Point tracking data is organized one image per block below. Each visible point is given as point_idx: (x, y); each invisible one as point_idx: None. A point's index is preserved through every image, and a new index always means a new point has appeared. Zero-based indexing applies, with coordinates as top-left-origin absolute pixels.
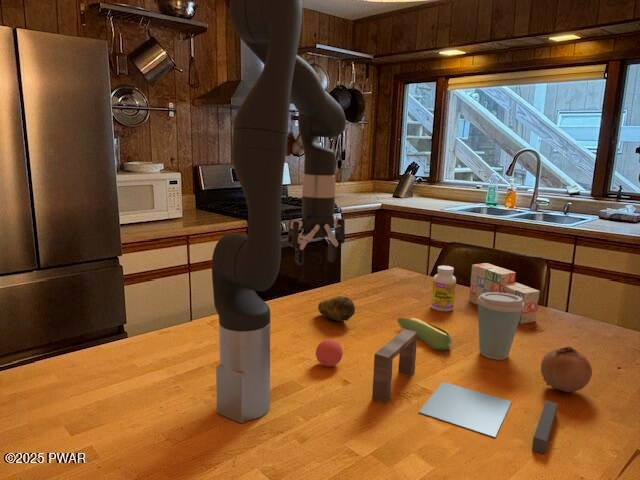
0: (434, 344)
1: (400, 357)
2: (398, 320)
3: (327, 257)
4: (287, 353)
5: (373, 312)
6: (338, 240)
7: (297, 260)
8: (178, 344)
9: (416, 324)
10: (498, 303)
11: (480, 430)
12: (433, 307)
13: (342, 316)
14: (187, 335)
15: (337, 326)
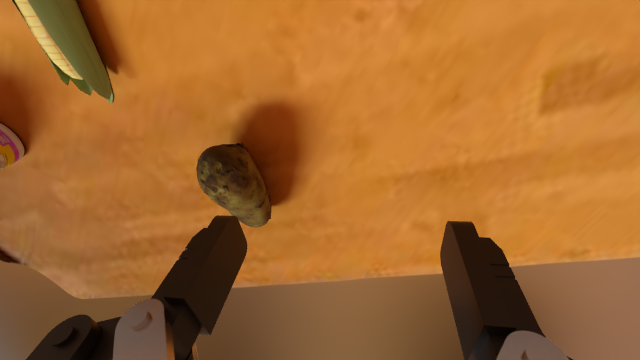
0: None
1: None
2: (106, 92)
3: (242, 261)
4: (430, 67)
5: (158, 177)
6: (99, 353)
7: (500, 257)
8: (596, 204)
9: (53, 23)
10: None
11: None
12: (17, 142)
13: (240, 147)
14: (550, 229)
15: (255, 149)
